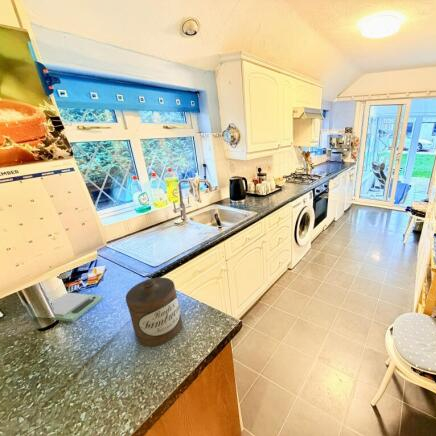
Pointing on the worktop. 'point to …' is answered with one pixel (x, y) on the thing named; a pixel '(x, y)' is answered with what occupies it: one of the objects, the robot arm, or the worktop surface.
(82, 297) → the kitchen scale
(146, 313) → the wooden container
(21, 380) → the worktop surface
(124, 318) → the worktop surface
